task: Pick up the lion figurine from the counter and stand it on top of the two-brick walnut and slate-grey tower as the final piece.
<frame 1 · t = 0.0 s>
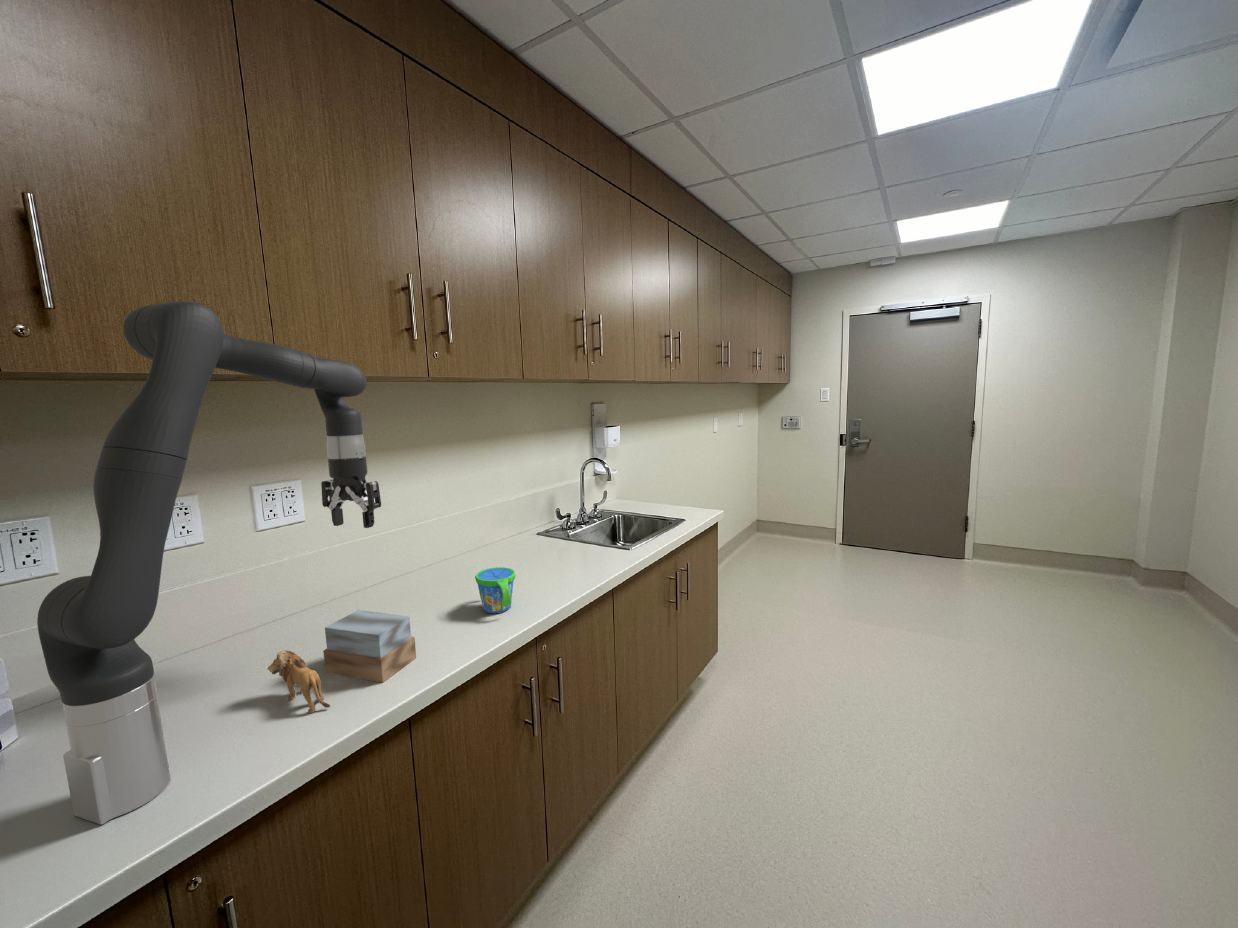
hand: (353, 526, 111), 29 cm above the table, tool pointing down, fingers open, 8 cm apart
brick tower: (372, 665, 107), on the table
lion figurine: (302, 701, 95), on the table
snack cup: (497, 609, 135), on the table
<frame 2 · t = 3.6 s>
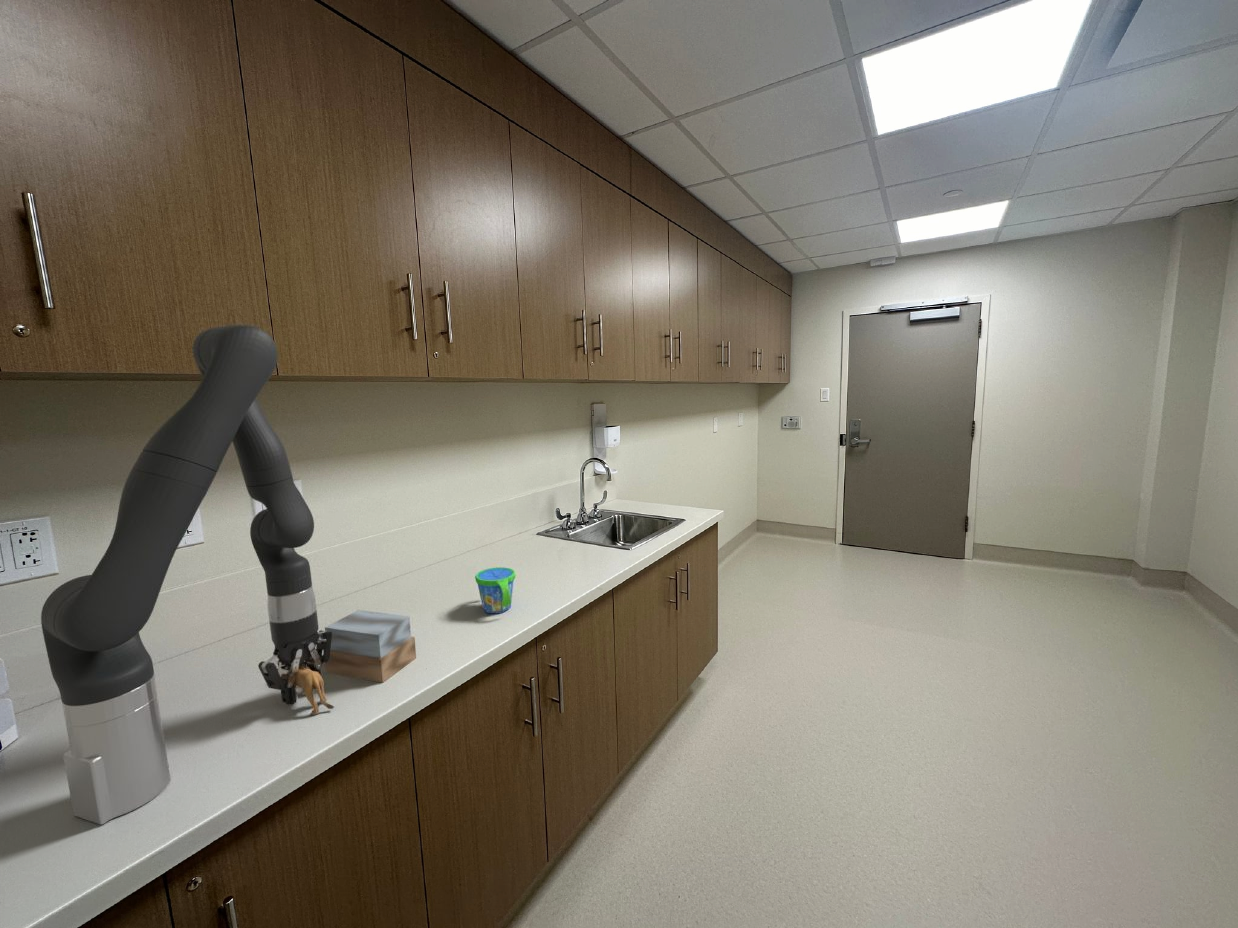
hand: (303, 694, 95), 1 cm above the table, tool pointing down, fingers closed on lion figurine, 4 cm apart
lion figurine: (304, 703, 94), on the table, touching gripper
everything else where it was.
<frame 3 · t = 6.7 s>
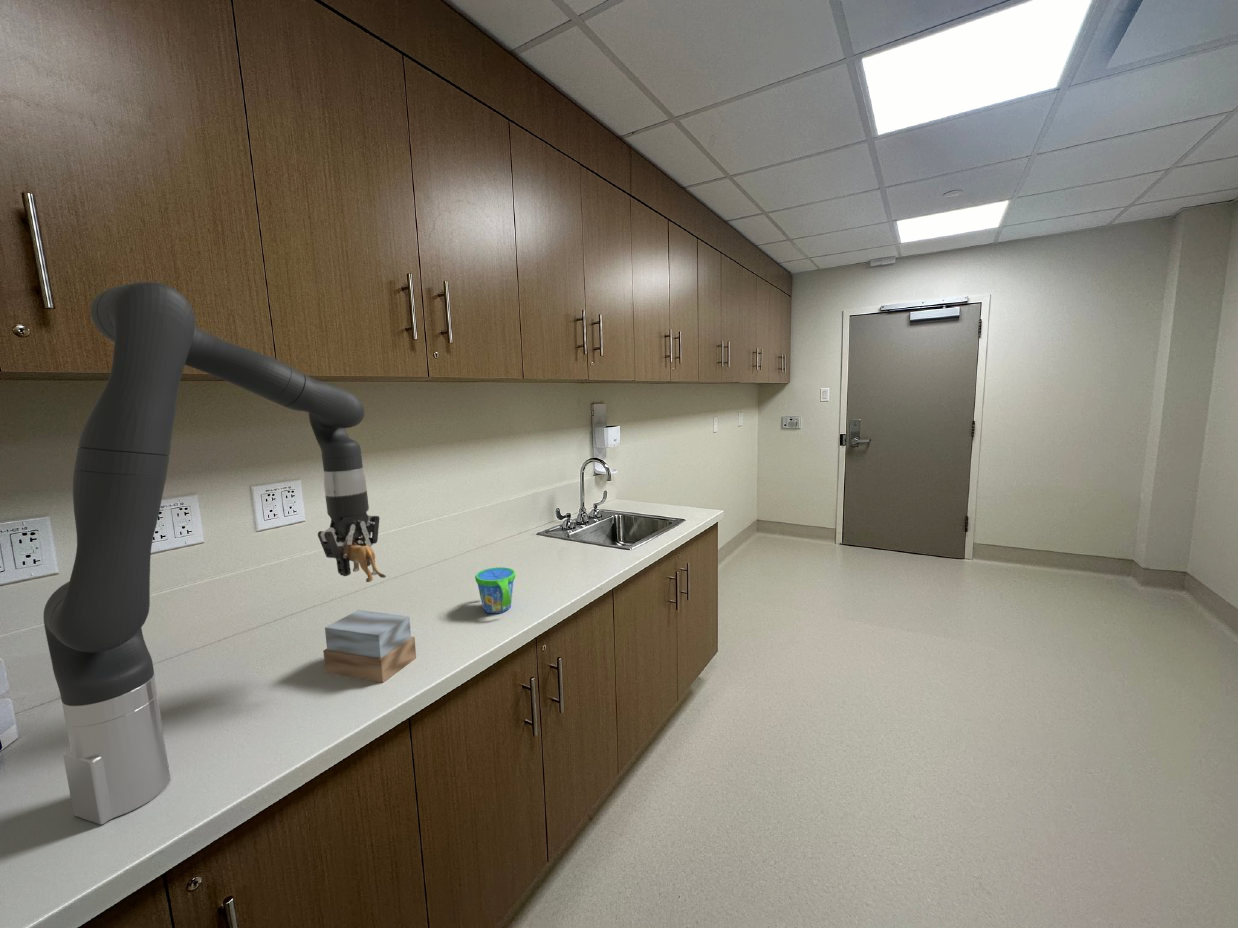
hand: (355, 569, 103), 22 cm above the table, tool pointing down, fingers closed on lion figurine, 4 cm apart
lion figurine: (357, 576, 102), point 21 cm above the table, touching gripper
everything else where it was.
when the fingers open (12 cm above the table, at t = 9.4 s): lion figurine drops 1 cm, resting on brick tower.
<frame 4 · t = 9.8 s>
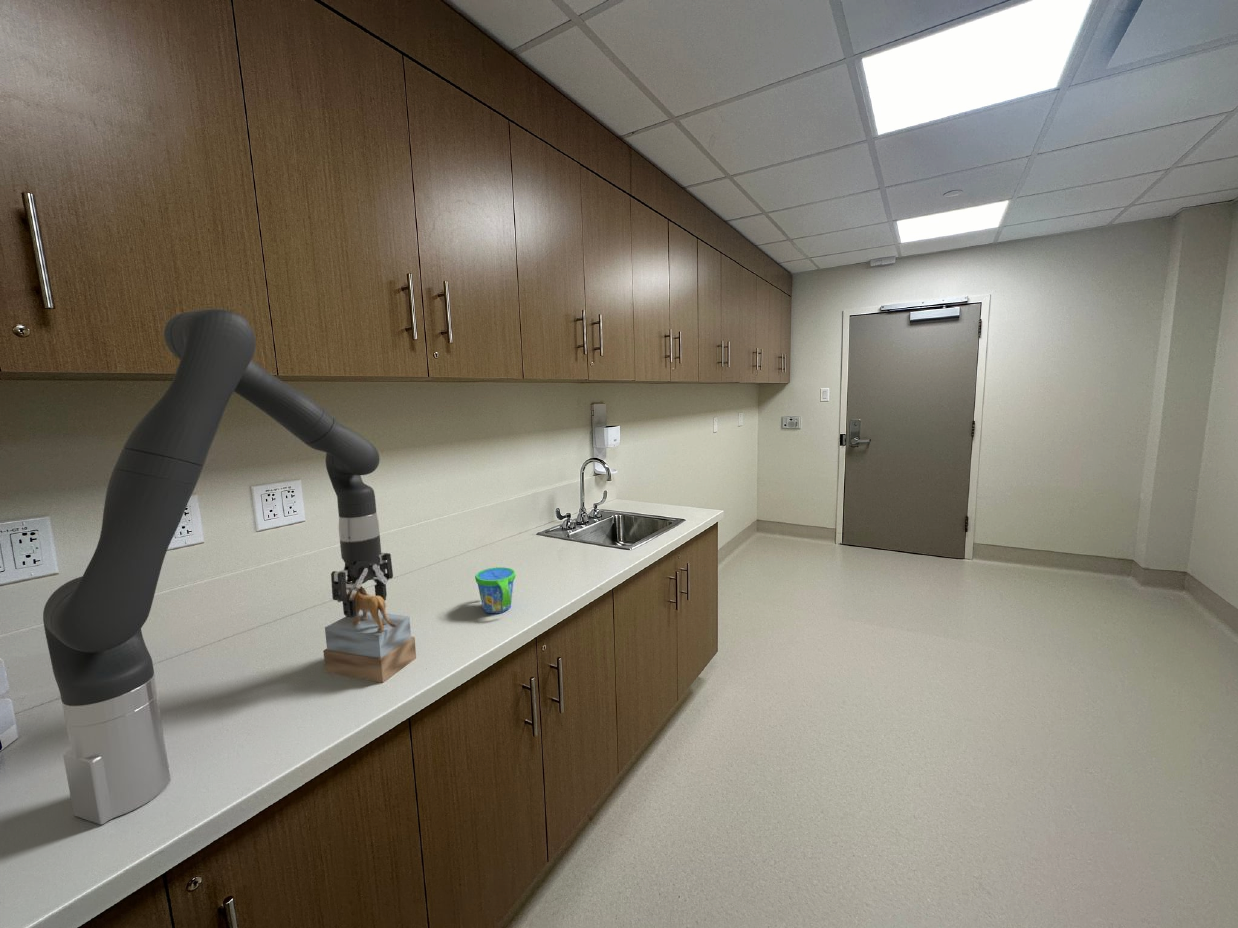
hand: (366, 608, 105), 13 cm above the table, tool pointing down, fingers open, 8 cm apart
lion figurine: (366, 625, 104), point 10 cm above the table, touching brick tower
everything else where it was.
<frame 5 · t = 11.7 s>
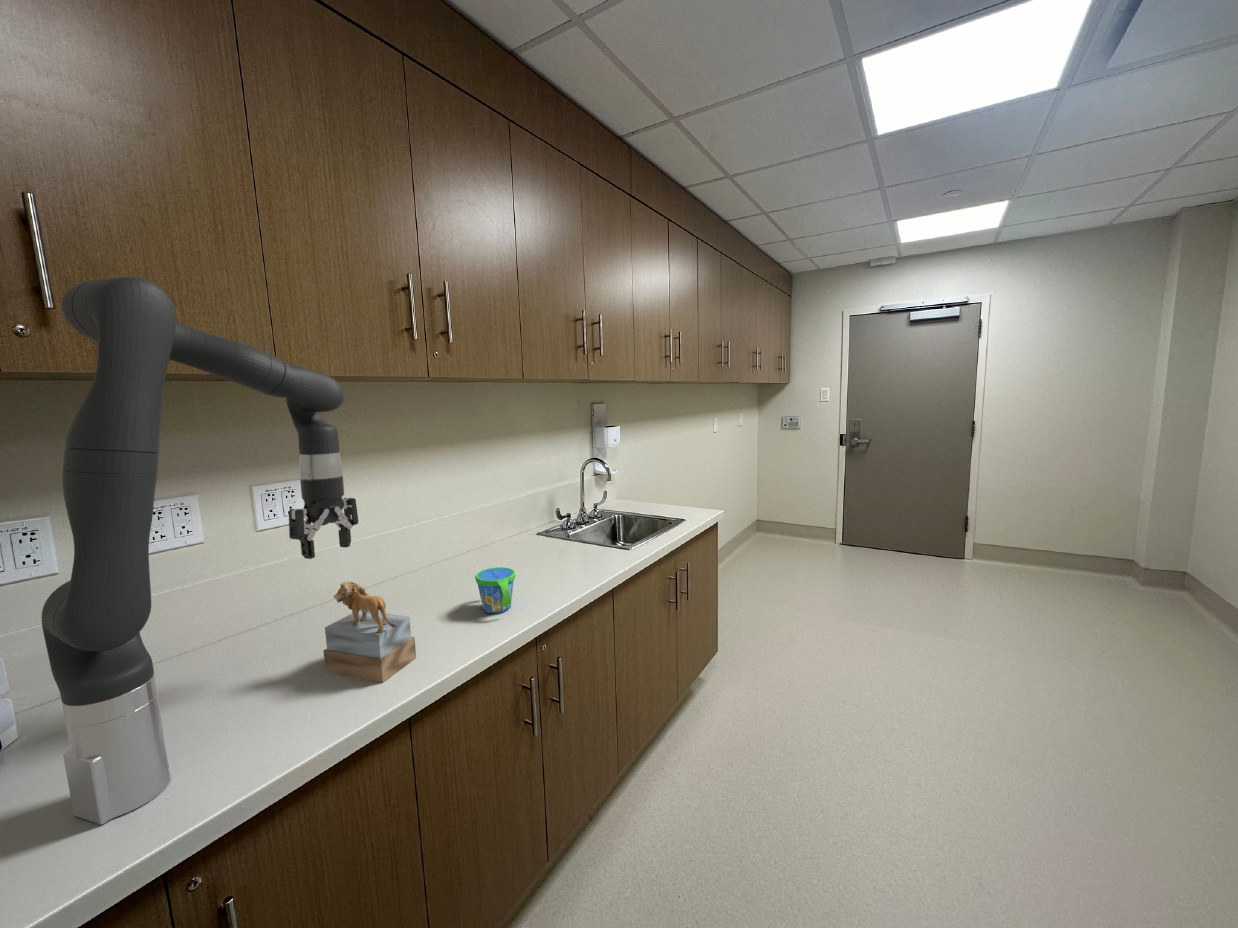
hand: (328, 552, 102), 26 cm above the table, tool pointing down, fingers open, 8 cm apart
nothing on the table moved.
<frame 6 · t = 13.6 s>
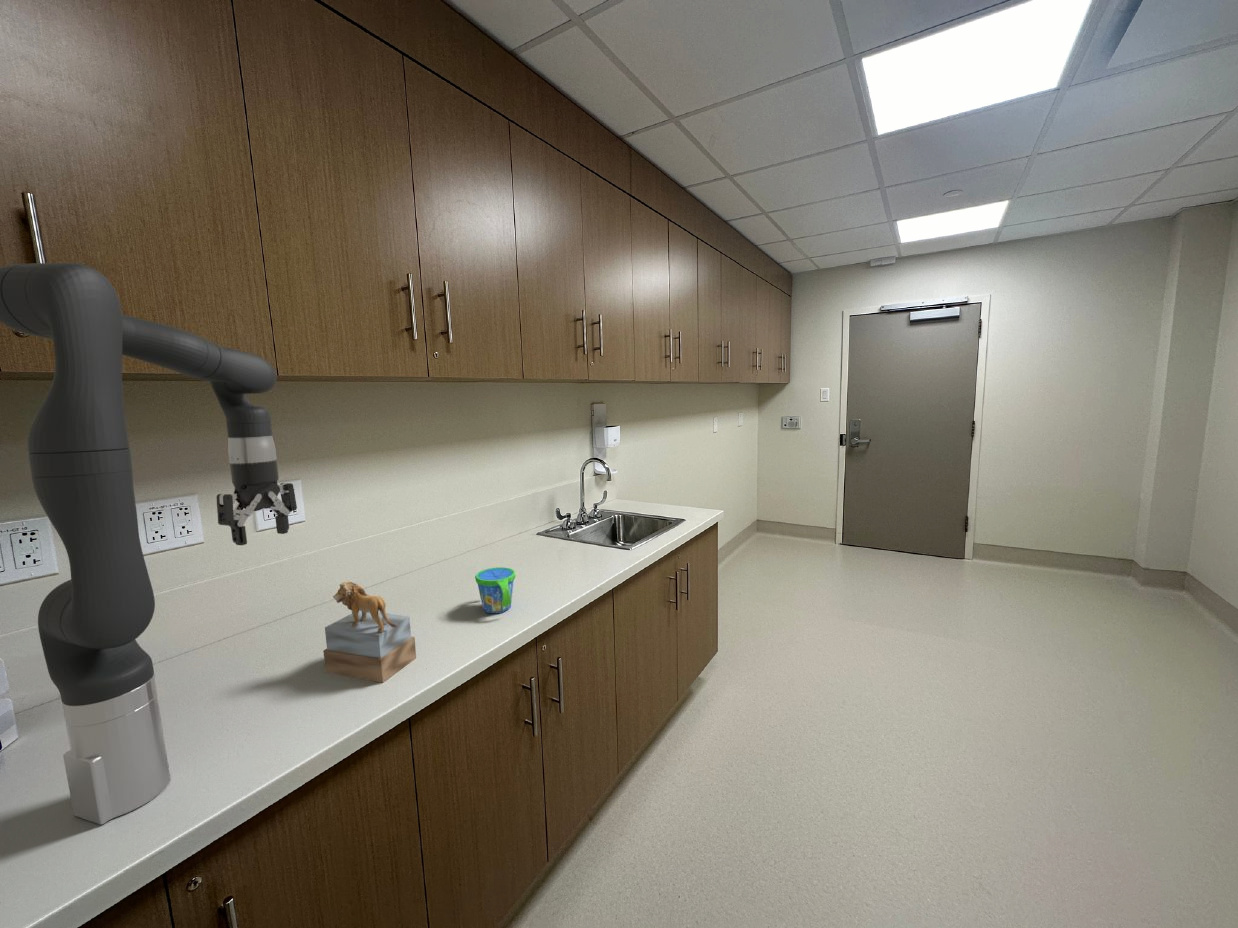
hand: (262, 538, 99), 30 cm above the table, tool pointing down, fingers open, 8 cm apart
nothing on the table moved.
at the end: lion figurine inside the target area on the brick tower (1.8 cm from its centre), point 9.8 cm above the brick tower's base; lion figurine tilted 0°; the gripper is holding nothing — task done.
